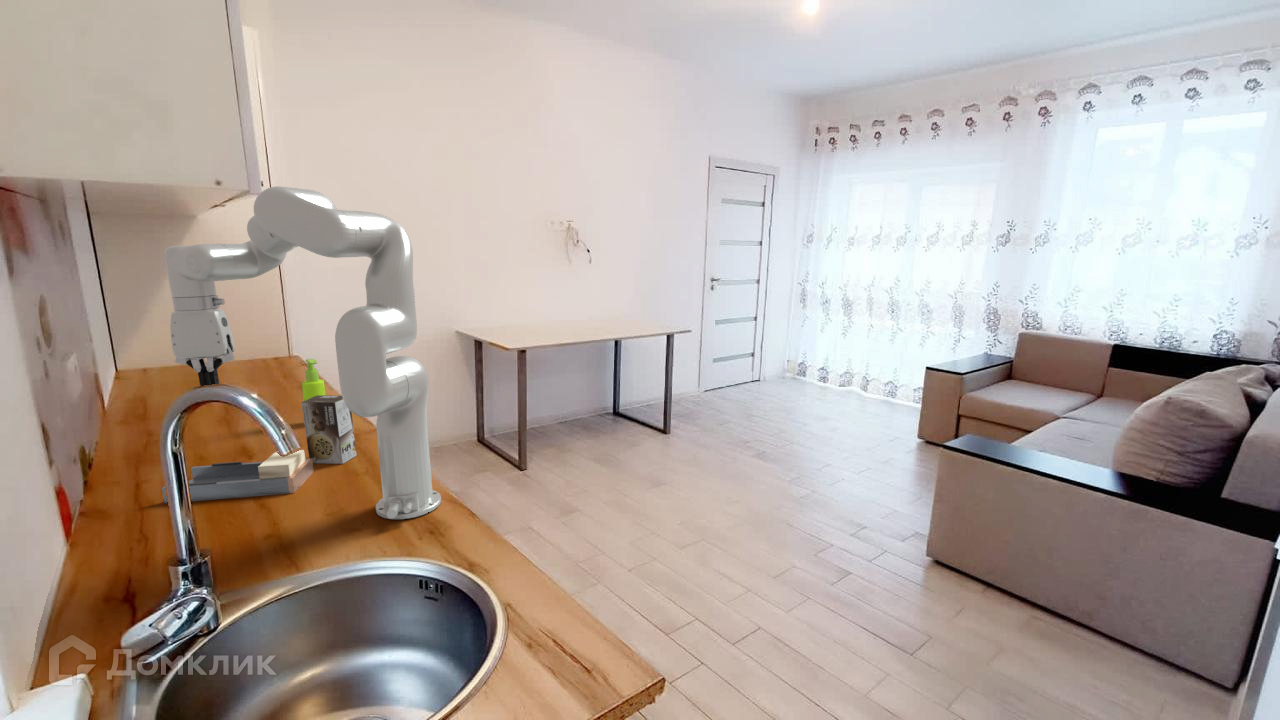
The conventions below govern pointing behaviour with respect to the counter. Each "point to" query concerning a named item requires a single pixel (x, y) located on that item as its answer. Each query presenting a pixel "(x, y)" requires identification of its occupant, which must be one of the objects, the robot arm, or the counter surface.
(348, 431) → the coffee box
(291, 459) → the block
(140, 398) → the counter surface
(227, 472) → the grey shallow rectangular tray
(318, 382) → the soap dispenser
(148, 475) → the counter surface
